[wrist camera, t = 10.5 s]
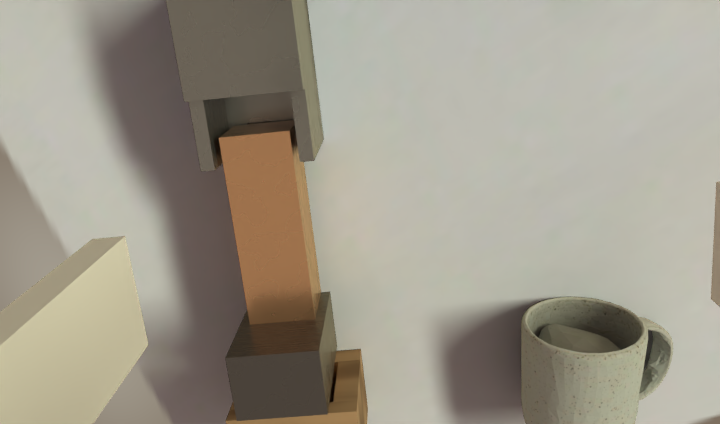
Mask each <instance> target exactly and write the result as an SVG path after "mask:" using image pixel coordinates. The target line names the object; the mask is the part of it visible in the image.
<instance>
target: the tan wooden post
mask: <svg viewBox="0 0 720 424" xmlns="http://www.w3.org/2000/svg"><path fill="white" fill-rule="evenodd" d="M219 143H220V149H221V155H222V161H223V167H224V173H225V179H226V185H227V191H228V197H229V203H230V209H231V215H232V221H233V227H234V233H235V239H236V245H237V251H238V257H239V263H240V269H241V275H242V281H243V287H244V293H245V299H246V305H247V311H246V314H245V316H244V318H243V320H242V322H241V325H240V327H239V329H238V331H237V333H236V336H235V338H234V340H233V342H232V345H231V347H230V349H229V351H228V353H227V356H226V358H225V359H226V365H227V370H228V376H229V381H230V387H231V392H232V398H233V403H234V409H235V414H236V420H237V421H245V420H259V419H272V418H286V417H300V416H313V415H327V414H328V409H329V402H333V401H334V387H333V372H334V365H335V357H336V350H337V342H336V334H335V327H334V319H333V311H332V303H331V295H330V292H321V289H320V281H319V273H318V266H317V258H316V251H315V243H314V236H313V228H312V221H311V213H310V205H309V198H308V190H307V183H306V175H305V168H304V162H300V160H299V153H298V145H297V138H296V130H295V123H294V120H288V121H278V122H268V123H258V124H248V125H239V126H233V127H232V128H231V129H229V130H228V131H227V132H225V133H224V134H223V135H222V136H220V137H219Z"/></svg>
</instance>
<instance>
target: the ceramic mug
mask: <svg viewBox="0 0 720 424" xmlns="http://www.w3.org/2000/svg"><path fill="white" fill-rule="evenodd" d="M648 330H652V334H653V343H652V349H651V353H650V359H649V362H648V364H647V367H646V369H645V370H644V372H643V369H644V363H645V356H646V350H647V343H648ZM672 355H673V342H672V338H671V336H670V335H669V333H668V332H667V331H666V330H665V329H664V328H662V327H661V326H659V325H657V324H656V323H654V322H652V321H650V320H648V319H646V318H642V317H638V316H637V315H636V314H634V313H633V312H631V311H630V310H628V309H626V308H623V307H621V306H619V305H616V304H613V303H611V302H606V301H603V300H599V299H593V298H583V297H560V298H553V299H548V300H544V301H541V302H539V303H537V304H534V305H533V306H531V307H530V308H528V309H527V311H526V312H525V314H524V316H523V318H522V321H521V372H522V378H521V404H522V409H523V416H524V419H525V423H526V424H635V420H636V416H637V412H638V401H639V400H641V399H643V398H645V397H646V396H648V395H649V394H651V393H652V392H654V390H655V389H656V388H657V387H658V386H659V385H660V383H661V382H662V380H663V379H664V377H665V376H666V373H667V371H668V369H669V366H670V363H671V360H672Z"/></svg>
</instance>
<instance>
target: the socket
mask: <svg viewBox="0 0 720 424" xmlns="http://www.w3.org/2000/svg"><path fill="white" fill-rule="evenodd" d="M333 387H334V401H333V402H329V409H328V414H327V415H313V416H300V417H286V418H272V419H259V420H245V421H237V420H236V414H235V409H234V403H232V406H231V408H230V411H229V414H228V416H227V419H226V424H367V413H368V407H367V398H366V390H365V381H364V373H363V364H362V356H361V349H357V350H344V351H336V357H335V365H334V372H333Z"/></svg>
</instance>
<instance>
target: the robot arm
mask: <svg viewBox="0 0 720 424" xmlns="http://www.w3.org/2000/svg"><path fill="white" fill-rule="evenodd" d="M711 299H712V300H713V301H714V302H715V303H716V304H717V305H718V306H720V182H716V201H715V223H714V244H713V266H712V287H711ZM147 346H148V340H147V336H146V331H145V326H144V322H143V317H142V313H141V308H140V303H139V299H138V294H137V289H136V285H135V280H134V276H133V271H132V266H131V262H130V257H129V253H128V248H127V243H126V239H125V236H121V237H111V238H100V239H92V240H91V241H89V242H88V243H87V244H86V245H84V246H83V247H82V248H81V249H79V250H78V251H77V252H75V253H74V254H73V255H72V256H70V257H69V258H68V259H67V260H65V261H64V262H63V263H62V264H60V265H59V266H58V267H57V268H55V269H54V270H53V271H51V272H50V273H49V274H48V275H47V276H45V277H44V278H42V279H41V280H40V281H39V282H37V283H36V284H35V285H34V286H32V287H31V288H30V289H29V290H28V291H26V292H25V293H23V294H22V295H21V296H20V297H18V298H17V299H16V300H15V301H13V302H12V303H11V304H10V305H8V306H7V307H6V308H5V309H3V310H2V311H1V312H0V424H93V423H94V422H95V420H96V419H97V418H98V416H99V415H100V413H101V412H102V410H103V409H104V408H105V406H106V405H107V403H108V402H109V400H110V399H111V398H112V396H113V395H114V393H115V392H116V390H117V389H118V388H119V386H120V385H121V383H122V382H123V380H124V379H125V378H126V376H127V375H128V373H129V372H130V370H131V369H132V368H133V366H134V365H135V363H136V362H137V360H138V359H139V358H140V356H141V355H142V353H143V352H144V350H145V349H146V348H147Z"/></svg>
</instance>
